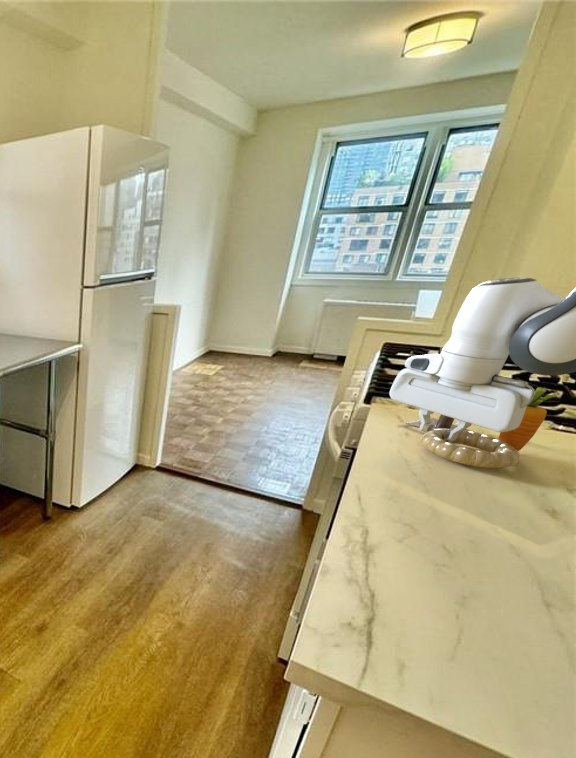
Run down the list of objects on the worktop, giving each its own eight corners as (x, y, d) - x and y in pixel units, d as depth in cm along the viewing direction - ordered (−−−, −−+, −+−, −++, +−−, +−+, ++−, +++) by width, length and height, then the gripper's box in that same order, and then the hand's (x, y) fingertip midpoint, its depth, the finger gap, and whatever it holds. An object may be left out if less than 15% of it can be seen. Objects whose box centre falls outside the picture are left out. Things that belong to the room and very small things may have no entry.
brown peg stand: (476, 439, 103) (508, 379, 97) (449, 445, 101) (480, 383, 95) (429, 423, 111) (456, 367, 105) (403, 428, 108) (428, 370, 102)
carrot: (494, 452, 98) (532, 381, 91) (525, 463, 94) (568, 390, 87) (478, 455, 97) (516, 384, 90) (509, 467, 92) (551, 393, 86)
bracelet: (532, 463, 89) (540, 450, 88) (485, 475, 85) (492, 461, 84) (447, 435, 101) (453, 422, 99) (402, 444, 97) (408, 431, 95)
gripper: (550, 382, 83) (511, 454, 89) (419, 353, 100) (394, 415, 106) (528, 386, 81) (490, 459, 87) (398, 356, 98) (373, 419, 104)
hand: (436, 435), depth 97 cm, fingers closed on bracelet, 3 cm apart
